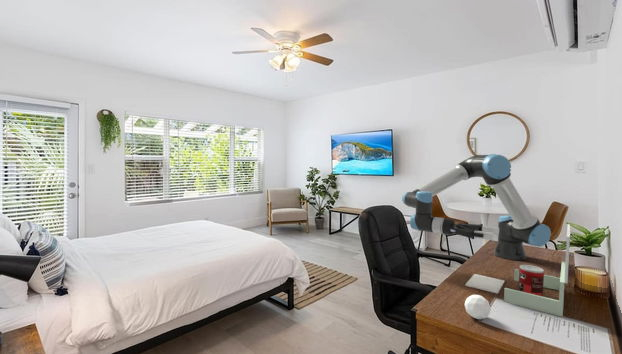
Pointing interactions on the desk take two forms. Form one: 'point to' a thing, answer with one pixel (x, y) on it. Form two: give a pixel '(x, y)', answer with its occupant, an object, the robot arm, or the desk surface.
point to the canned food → (531, 279)
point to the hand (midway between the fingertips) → (496, 233)
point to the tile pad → (485, 283)
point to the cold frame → (549, 282)
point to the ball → (477, 306)
